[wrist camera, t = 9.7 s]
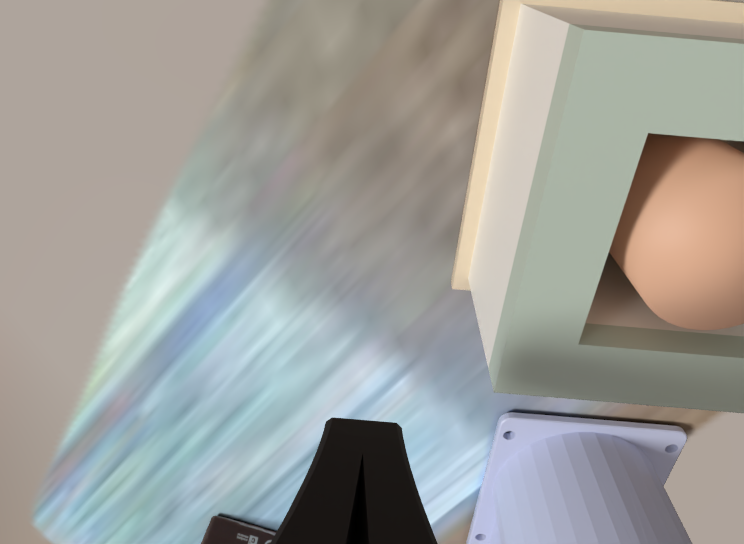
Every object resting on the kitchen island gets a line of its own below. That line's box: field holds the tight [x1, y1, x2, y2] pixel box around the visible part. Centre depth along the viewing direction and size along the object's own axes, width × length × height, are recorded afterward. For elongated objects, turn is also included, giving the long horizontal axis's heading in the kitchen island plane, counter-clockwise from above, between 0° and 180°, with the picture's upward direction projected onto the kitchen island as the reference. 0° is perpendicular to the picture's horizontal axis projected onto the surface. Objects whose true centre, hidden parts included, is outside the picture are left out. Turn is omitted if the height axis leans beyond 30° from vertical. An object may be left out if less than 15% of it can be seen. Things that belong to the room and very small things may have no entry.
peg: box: [609, 133, 744, 330], centre depth 15 cm, size 4×4×6 cm
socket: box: [451, 0, 744, 413], centre depth 15 cm, size 10×10×6 cm
